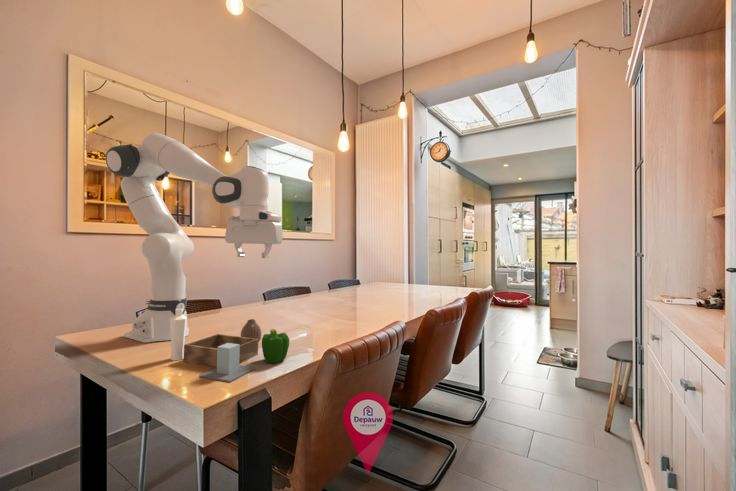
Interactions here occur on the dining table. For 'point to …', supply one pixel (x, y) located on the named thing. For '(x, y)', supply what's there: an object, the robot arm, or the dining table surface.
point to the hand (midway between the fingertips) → (252, 257)
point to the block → (228, 358)
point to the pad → (224, 377)
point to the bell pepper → (275, 346)
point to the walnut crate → (207, 349)
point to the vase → (251, 330)
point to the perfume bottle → (178, 335)
